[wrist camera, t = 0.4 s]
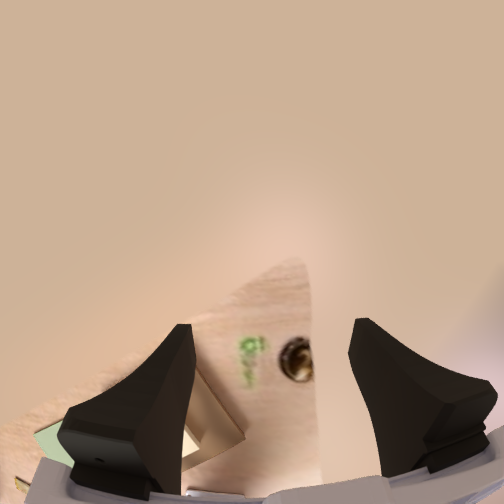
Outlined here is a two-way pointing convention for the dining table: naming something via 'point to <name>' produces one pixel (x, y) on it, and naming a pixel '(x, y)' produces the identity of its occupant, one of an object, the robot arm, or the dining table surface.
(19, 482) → the snack bar
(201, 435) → the board
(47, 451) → the mat
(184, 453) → the tile
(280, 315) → the dining table surface
